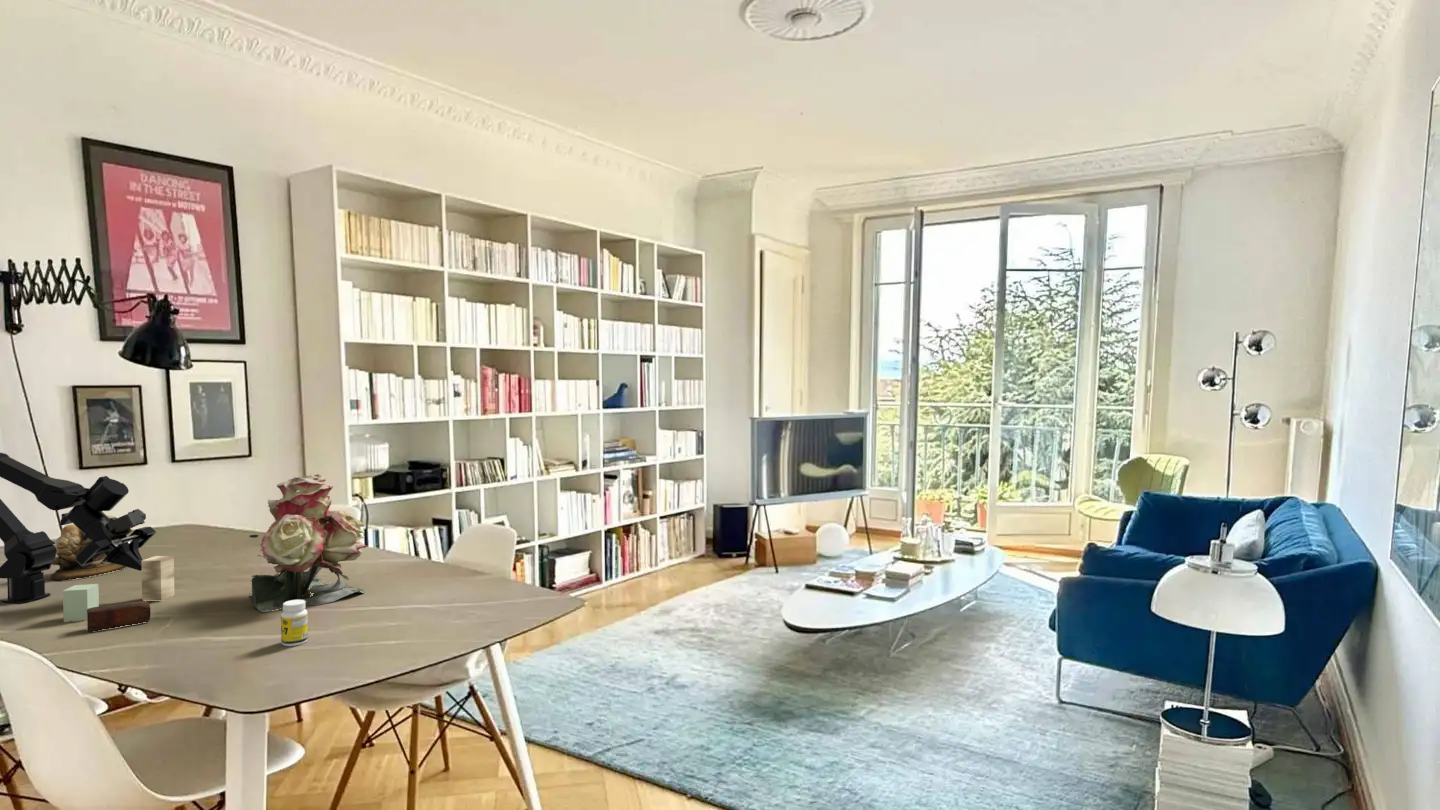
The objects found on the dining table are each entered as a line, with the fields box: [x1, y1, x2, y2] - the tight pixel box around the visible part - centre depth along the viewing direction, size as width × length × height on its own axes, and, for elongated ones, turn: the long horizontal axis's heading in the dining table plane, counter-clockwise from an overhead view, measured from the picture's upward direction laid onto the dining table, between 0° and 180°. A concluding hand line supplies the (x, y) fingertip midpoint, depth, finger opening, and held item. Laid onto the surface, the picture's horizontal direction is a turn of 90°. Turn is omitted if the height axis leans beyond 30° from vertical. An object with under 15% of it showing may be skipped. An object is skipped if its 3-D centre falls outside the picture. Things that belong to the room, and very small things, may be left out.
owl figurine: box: [50, 515, 127, 581], centre depth 204 cm, size 18×12×17 cm, turn 162°
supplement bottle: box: [280, 599, 309, 647], centre depth 152 cm, size 5×5×8 cm
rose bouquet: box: [248, 473, 368, 613], centre depth 185 cm, size 26×29×30 cm
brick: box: [86, 600, 152, 633], centre depth 161 cm, size 11×4×5 cm, turn 131°
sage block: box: [62, 583, 100, 623], centre depth 166 cm, size 4×4×7 cm
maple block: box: [141, 555, 175, 601], centre depth 180 cm, size 4×4×10 cm
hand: (143, 569), depth 180 cm, fingers closed
